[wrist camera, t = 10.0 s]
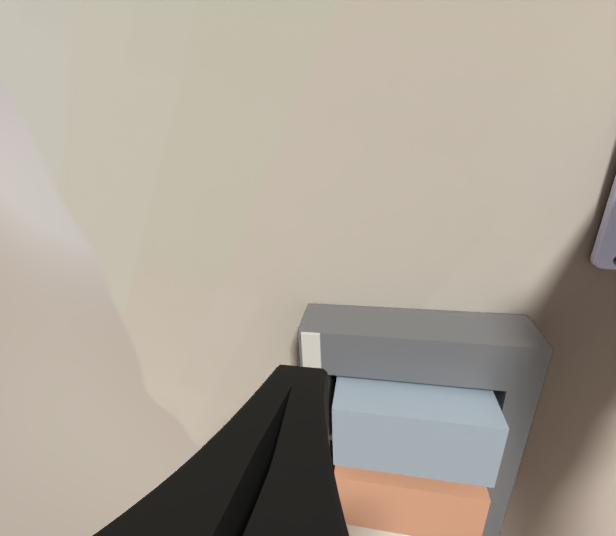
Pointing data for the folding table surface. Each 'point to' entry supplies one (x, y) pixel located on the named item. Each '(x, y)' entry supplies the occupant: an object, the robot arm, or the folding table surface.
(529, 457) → the folding table surface
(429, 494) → the terracotta key
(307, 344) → the grey shallow tray
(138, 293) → the folding table surface
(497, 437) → the slate key
